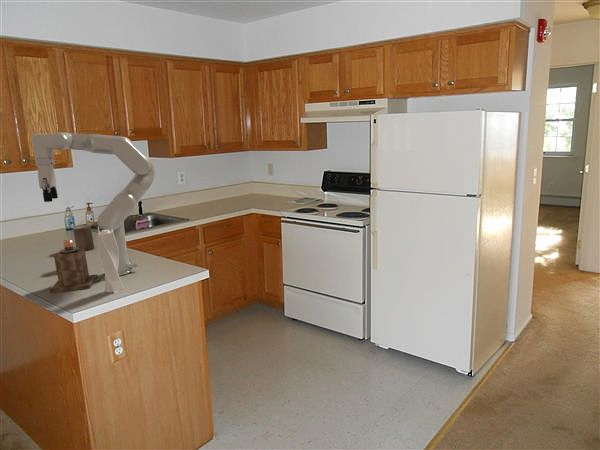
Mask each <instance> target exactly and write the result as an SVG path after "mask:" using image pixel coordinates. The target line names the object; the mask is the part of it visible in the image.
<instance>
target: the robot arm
mask: <svg viewBox="0 0 600 450" xmlns="http://www.w3.org/2000/svg"><path fill="white" fill-rule="evenodd" d="M31 143H32V144H31V145H32V149H33V156H34V160H35V166H36V167H37V179H38V185H39V188H40V189H41V190H42V196H43V202H44V203H49V202H50V203H51V202H53V199H58V198H59V197H58V190H57V186H56V185H57V179H56V173H55V168H54V166H56V161H55V156H54V154H55V153H54V150H55V151H56V150H57V151H62V150H74V151H75V150H77V151H78V150H79V151H85V152H89V153H92V154H102V155H115V156H116V158H118V159H119V161H121V162H122V163H123V164H124V165H125V166H126V167H127V168H128V169H129V170H130V171H131V172H132V173H133V174H134V176H133V177H132V178H131V180H130V181H128V183H127V185H126V186H125V187H124V188H123V189H122V190H121V191H120V192H118V193H117V194H116V195H115V196H114V197H113V198H112V200H111V201H110V202H109V203H108V205H107V206H106V207H105V208H104V209H103V211H102V212H101V213H99V215H98V216H97V227H99V230H101V231H102V230H109V231H112V230H111V229H113V233H114V236H115V239H116V243H117V246H118V252H119V265H118V274H119V277H120V276H124V275H128V274H131V273H132V272H133V271H134V268H139V267H140V266H139V263H137V262H131V260H129V256H128V249H127V240H126V233H125V220H126V219H127V218H128V217H129V216H130V214H131V213H132V212H133V211H134V209H135V208H136V206H137V204H138V203H139V201H140V200H141V199H142V198H143V196H144V195H145V194H146V193H147V191H148V190H149V189H150V188H151V186H152V185H153V183H154V180H155V175H156V173H155V172H156V171H155V166H154V164H153V161H152V160H151V158H150V157H149V156H148V155H143V154H142V153H141V152H140V151H139V150H138V149H137V148H136V147H135V146H134V145H133V142H132V141H131V139H130V138H128V137H126V136H120V135H119V136H118V135H108V134H100V133H99V134H96V133H89V134H88V133H74V132H66V131H65V132H63V131H62V132H60V131H59V132H53V133H34V134H32V135H31Z"/></svg>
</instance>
